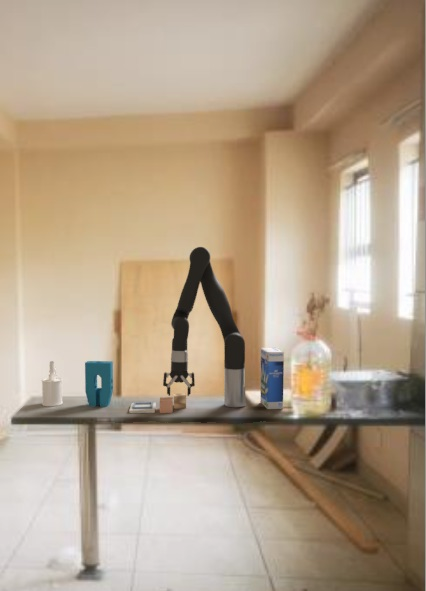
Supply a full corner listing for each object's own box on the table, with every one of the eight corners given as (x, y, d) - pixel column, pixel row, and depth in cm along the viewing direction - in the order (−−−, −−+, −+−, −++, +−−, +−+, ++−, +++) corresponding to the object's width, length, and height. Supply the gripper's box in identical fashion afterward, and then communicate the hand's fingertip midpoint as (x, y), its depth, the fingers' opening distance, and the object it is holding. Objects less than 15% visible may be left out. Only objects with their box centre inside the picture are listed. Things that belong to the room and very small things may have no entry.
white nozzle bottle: (42, 402, 245) (41, 360, 244) (62, 400, 248) (62, 359, 247) (41, 408, 235) (41, 364, 234) (63, 406, 238) (62, 362, 237)
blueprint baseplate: (156, 405, 240) (156, 400, 240) (154, 412, 227) (154, 408, 227) (132, 405, 239) (132, 401, 239) (129, 413, 226) (129, 408, 226)
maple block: (186, 405, 240) (185, 393, 240) (186, 408, 234) (186, 396, 234) (174, 405, 239) (173, 393, 239) (173, 408, 234) (173, 396, 234)
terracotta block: (172, 409, 232) (172, 397, 232) (172, 412, 227) (172, 400, 227) (160, 409, 232) (160, 397, 232) (159, 413, 227) (159, 400, 226)
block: (113, 404, 242) (113, 361, 241) (110, 406, 237) (110, 363, 236) (88, 403, 243) (88, 361, 242) (85, 406, 238) (84, 362, 237)
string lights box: (260, 402, 244) (260, 347, 243) (275, 401, 246) (275, 347, 244) (267, 409, 231) (268, 352, 230) (284, 408, 233) (284, 351, 231)
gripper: (195, 358, 240) (194, 393, 241) (164, 358, 240) (163, 393, 240) (195, 361, 233) (194, 397, 234) (163, 361, 232) (162, 397, 233)
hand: (178, 395), depth 237 cm, fingers open, 8 cm apart
